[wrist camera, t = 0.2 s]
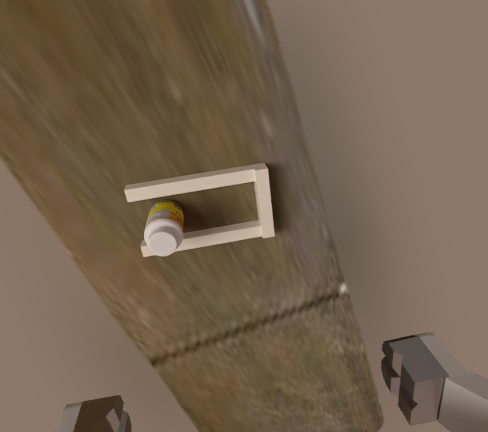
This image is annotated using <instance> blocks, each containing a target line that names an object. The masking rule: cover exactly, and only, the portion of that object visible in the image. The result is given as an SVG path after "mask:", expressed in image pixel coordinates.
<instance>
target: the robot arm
mask: <svg viewBox="0 0 488 432" xmlns="http://www.w3.org/2000/svg"><path fill="white" fill-rule="evenodd" d="M382 351H383V353H384V354H385V357H384V358H383V359H382V360H381V370H382V374H383V378H384V380H385V383H386V385H387V387H388V389H389V391H390V392H391V393H393V394H394V395H396V396H397V397H399V398H398V406H399V408H400V410H401V411H402V413H403V415H404V416H405V418H406V420H407V421H408V423H409V425H410V426H411V425H416V424H421V423H427V422H432V421H438V422H439V423H440V424H441V425H443V426H444V427H445V428H447V429H448V430H449V431H451V432H488V379H486V378H484V377H482V376H480V375H478V374H476V373H474V372H469V373H468V372H467V371H466V370H465V369H464V368H463V366H462V365H461V364H460V363H459V362H458V361H457V360H456V358H455V357H454V356H453V355H452V354H451V353H450V351H449V350H448V349H447V348H446V347H445V346H444V344H443V343H442V342H441V341H440V340H439V339H438V337H437V336H436V335H435V334H434V333H432V332H427V333H421V334H417V335H411V336H406V337H401V338H397V339H392V340H387V341H384V342H383V344H382ZM123 404H124V402H123V400H122V398H121V396H120V395H117V396H112V397H106V398H101V399H95V400H89V401H84V402H78V403H73V404H68V405H66V407H65V408H64V409H63V411H62V414H61V417H60V420H59V422H58V425H57V428H56V431H55V432H131V422H130V417H129V415H128V413H127V412H125V411H124V410H123Z"/></svg>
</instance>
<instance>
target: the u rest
mask: <svg viewBox="0 0 488 432" xmlns="http://www.w3.org/2000/svg"><path fill="white" fill-rule="evenodd" d="M253 181H254V185H255V194H256V202H257V211H258V219H259V220H256V221H250V222H244V223H239V224H233V225H227V226H221V227H215V228H210V229H204V230H198V231H192V232H187V233H183V239H182V242H181V244H180V246H179V247H178V248H177V249H175V251H181V250H186V249H192V248H198V247H203V246H209V245H215V244H220V243H226V242H232V241H237V240H243V239H249V238H254V237H260V236H262V237H263V238H268V237H274V236H275V235H274V225H273V215H272V204H271V194H270V184H269V174H268V168H267V166H266V165H265V163H260V164H254V165H248V166H241V167H235V168H229V169H223V170H217V171H211V172H204V173H198V174H192V175H186V176H180V177H174V178H167V179H161V180H155V181H149V182H143V183H137V184H130V185H126V187H125V189H124V191H125V195H126V198H127V202H132V201H138V200H144V199H150V198H156V197H162V196H168V195H175V194H181V193H187V192H193V191H199V190H205V189H211V188H217V187H223V186H229V185H235V184H241V183H247V182H253ZM141 250H142V253H143V257H147V256H152V255H155V254H154V253H152V252H151V250H150V249H149V246H148V245H147V244H146V242H145V240H142V243H141ZM175 251H174V252H175Z"/></svg>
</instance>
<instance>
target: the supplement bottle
mask: <svg viewBox="0 0 488 432" xmlns="http://www.w3.org/2000/svg"><path fill="white" fill-rule="evenodd" d="M183 219H184V216H183V211H182V209H181V207H180V206H179V205H178V204H177V203H175V202H173V201H170V200H161V201H158V202H157V203H155V204H154V205H153V206H152V207H151V209H150V211H149V215H148V219H147V223H146V228H145V232H144V239H145V242H146V244H147V245H148V246H149V249H150V250H151V252H152V253H154V254H155V255H158V256H168V255H170V254H172V253H173V252H174V251H175V249H177V248H178V247H179V246H180V244H181V242H182V239H183Z"/></svg>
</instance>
